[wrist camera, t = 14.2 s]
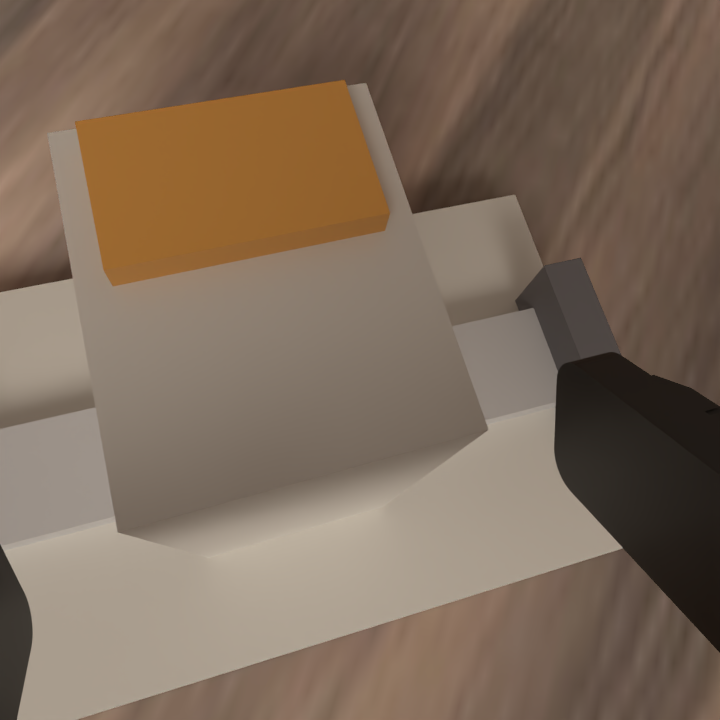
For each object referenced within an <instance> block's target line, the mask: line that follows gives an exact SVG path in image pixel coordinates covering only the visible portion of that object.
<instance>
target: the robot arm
mask: <svg viewBox="0 0 720 720" xmlns="http://www.w3.org/2000/svg"><path fill="white" fill-rule="evenodd" d="M554 454H555V460H556V464H557V468H558V471H559V473H560V475H561V478H562V480H563V481H564V483H565V485H566V486H567V488H568V489H569V490H570V491H571V492H572V493H573V495H574V496H575V497H576V498H577V499H578V500H579V501H580V502H581V503H582V504H583V505H584V506H585V508H586V509H587V510H588V511H589V512H590V513H591V514H592V515H593V516H594V517H595V518H596V519H597V520H598V522H599V523H600V524H601V525H602V526H603V527H604V528H605V529H606V530H607V531H608V532H609V533H610V535H611V536H612V537H613V538H614V539H615V540H616V541H617V542H618V543H619V544H620V545H621V546H622V547H623V549H624V550H625V551H626V552H627V553H628V554H629V555H630V556H631V557H632V558H633V559H634V560H635V561H636V563H637V564H638V565H639V566H640V567H641V568H642V569H643V570H644V571H645V572H646V573H647V574H648V576H649V577H650V578H651V579H652V580H653V581H654V582H655V583H656V584H657V585H658V586H659V587H660V588H661V590H662V591H663V592H664V593H665V594H666V595H667V596H668V597H669V598H670V599H671V600H672V601H673V603H674V604H675V605H676V606H677V607H678V608H679V609H680V610H681V611H682V612H683V613H684V614H685V615H686V617H687V618H688V619H689V620H690V621H691V622H692V623H693V624H694V625H695V626H696V627H697V628H698V630H699V631H700V632H701V633H702V634H703V635H704V636H705V637H706V638H707V639H708V640H709V641H710V642H711V644H712V645H713V646H714V647H715V648H716V649H717V650H718V651H719V652H720V406H718V405H716V404H715V403H713V402H712V401H710V400H709V399H707V398H706V397H704V396H702V395H701V394H699V393H698V392H696V391H695V390H693V389H692V388H689V387H687V386H684V385H681V384H678V383H675V382H672V381H669V380H667V379H664V378H661V377H658V376H655V375H652V376H651V375H650V374H648V373H647V372H645V371H644V370H642V369H641V368H639V367H638V366H636V365H635V364H633V363H632V362H630V361H629V360H627V359H626V358H624V357H623V356H621V355H620V354H618V353H615V352H607V353H603V354H599V355H595V356H591V357H587V358H583V359H579V360H575V361H571V362H567V363H564V364H563V365H562V366H561V367H560V369H559V371H558V374H557V384H556V411H555V437H554ZM32 638H33V628H32V617H31V612H30V607H29V603H28V600H27V598H26V595H25V593H24V591H23V589H22V587H21V585H20V583H19V581H18V579H17V577H16V575H15V573H14V571H13V569H12V567H11V565H10V563H9V561H8V559H7V557H6V555H5V553H4V551H3V549H2V547H1V545H0V720H17V716H18V711H19V706H20V701H21V697H22V692H23V687H24V682H25V677H26V672H27V667H28V662H29V657H30V652H31V647H32Z"/></svg>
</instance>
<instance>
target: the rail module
mask: <svg viewBox="0 0 720 720" xmlns="http://www.w3.org/2000/svg"><path fill="white" fill-rule="evenodd" d="M75 125H76V129H70V130H63V131H57V132H51V133H47V135H48V140H49V146H50V152H51V157H52V163H53V169H54V174H55V180H56V186H57V191H58V197H59V203H60V208H61V214H62V220H63V225H64V231H65V237H66V242H67V248H68V254H69V259H70V265H71V271H72V277H73V282H74V288H75V294H76V299H77V305H78V311H79V316H80V322H81V328H82V333H83V339H84V345H85V350H86V356H87V362H88V367H89V373H90V379H91V384H92V390H93V396H94V401H95V407H96V413H97V418H98V424H99V430H100V435H101V441H102V447H103V452H104V458H105V464H106V469H107V475H108V481H109V486H110V492H111V498H112V503H113V509H114V515H115V520H116V526H117V532H118V533H122V534H126V535H129V536H133V537H136V538H140V539H143V540H147V541H150V542H154V543H157V544H161V545H164V546H168V547H171V548H175V549H178V550H182V551H185V552H189V553H192V554H196V555H199V556H203V557H206V558H210V557H213V556H217V555H220V554H224V553H227V552H231V551H234V550H237V549H241V548H244V547H248V546H251V545H255V544H258V543H262V542H265V541H268V540H272V539H275V538H279V537H282V536H286V535H289V534H292V533H296V532H299V531H303V530H306V529H310V528H313V527H316V526H320V525H323V524H327V523H330V522H334V521H337V520H340V519H344V518H347V517H351V516H354V515H358V514H361V513H365V512H368V511H371V510H375V509H378V508H382V507H383V506H385V505H386V504H388V503H389V502H390V501H392V500H393V499H394V498H396V497H397V496H399V495H400V494H401V493H403V492H404V491H405V490H407V489H408V488H409V487H411V486H412V485H414V484H415V483H416V482H418V481H419V480H420V479H422V478H423V477H425V476H426V475H427V474H429V473H430V472H431V471H433V470H434V469H436V468H437V467H438V466H440V465H441V464H442V463H444V462H445V461H447V460H448V459H449V458H451V457H452V456H453V455H455V454H456V453H457V452H459V451H460V450H462V449H463V448H464V447H466V446H467V445H468V444H470V443H471V442H473V441H474V440H475V439H477V438H478V437H479V436H481V435H482V434H484V433H485V432H486V431H488V430H489V429H488V427H487V424H486V421H485V418H484V415H483V412H482V410H481V407H480V404H479V401H478V398H477V395H476V393H475V390H474V387H473V384H472V381H471V378H470V376H469V373H468V370H467V367H466V364H465V361H464V359H463V356H462V353H461V350H460V347H459V345H458V342H457V339H456V336H455V333H454V330H453V328H452V325H451V322H450V319H449V316H448V313H447V311H446V308H445V305H444V302H443V299H442V296H441V294H440V291H439V288H438V285H437V282H436V279H435V277H434V274H433V271H432V268H431V265H430V262H429V260H428V257H427V254H426V251H425V248H424V245H423V243H422V240H421V237H420V234H419V231H418V228H417V226H416V223H415V220H414V217H413V214H412V211H411V209H410V206H409V203H408V200H407V197H406V194H405V192H404V189H403V186H402V183H401V180H400V178H399V175H398V172H397V169H396V166H395V163H394V161H393V158H392V155H391V152H390V149H389V146H388V144H387V141H386V138H385V135H384V132H383V129H382V127H381V124H380V121H379V118H378V115H377V112H376V110H375V107H374V104H373V101H372V98H371V95H370V93H369V90H368V87H367V84H366V83H362V84H356V85H349V86H347V85H346V83H345V80H340V81H334V82H327V83H321V84H314V85H308V86H301V87H295V88H289V89H282V90H276V91H269V92H263V93H256V94H250V95H244V96H237V97H231V98H224V99H218V100H211V101H205V102H199V103H192V104H186V105H179V106H173V107H166V108H160V109H154V110H147V111H141V112H134V113H128V114H121V115H115V116H108V117H102V118H96V119H89V120H83V121H76V122H75Z"/></svg>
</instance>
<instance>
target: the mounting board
mask: <svg viewBox="0 0 720 720" xmlns="http://www.w3.org/2000/svg"><path fill="white" fill-rule="evenodd" d="M413 217H414V220H415V223H416V226H417V228H418V231H419V234H420V237H421V240H422V243H423V245H424V248H425V251H426V254H427V257H428V260H429V262H430V265H431V268H432V271H433V274H434V277H435V279H436V282H437V285H438V288H439V291H440V294H441V296H442V299H443V302H444V305H445V308H446V311H447V313H448V316H449V319H450V322H451V325H452V328H453V330H454V333H455V336H456V339H457V342H458V345H459V347H460V350H461V353H462V356H463V359H464V361H465V364H466V367H467V370H468V373H469V376H470V378H471V381H472V384H473V387H474V390H475V393H476V395H477V398H478V401H479V404H480V407H481V410H482V412H483V415H484V418H485V421H486V424H487V427H488V429H489V430H488V431H486V432H485V433H484V434H482V435H481V436H479V437H478V438H477V439H475V440H474V441H473V442H471V443H470V444H468V445H467V446H466V447H464V448H463V449H462V450H460V451H459V452H457V453H456V454H455V455H453V456H452V457H451V458H449V459H448V460H447V461H445V462H444V463H442V464H441V465H440V466H438V467H437V468H436V469H434V470H433V471H431V472H430V473H429V474H427V475H426V476H425V477H423V478H422V479H420V480H419V481H418V482H416V483H415V484H414V485H412V486H411V487H409V488H408V489H407V490H405V491H404V492H403V493H401V494H400V495H399V496H397V497H396V498H394V499H393V500H392V501H390V502H389V503H388V504H386V505H385V506H383V507H382V508H378V509H375V510H371V511H368V512H365V513H361V514H358V515H354V516H351V517H347V518H344V519H340V520H337V521H334V522H330V523H327V524H323V525H320V526H316V527H313V528H310V529H306V530H303V531H299V532H296V533H292V534H289V535H286V536H282V537H279V538H275V539H272V540H268V541H265V542H262V543H258V544H255V545H251V546H248V547H244V548H241V549H237V550H234V551H231V552H227V553H224V554H220V555H217V556H213V557H210V558H206V557H203V556H199V555H196V554H192V553H189V552H185V551H182V550H178V549H175V548H171V547H168V546H164V545H161V544H157V543H154V542H150V541H147V540H143V539H140V538H136V537H133V536H129V535H126V534H122V533H118V532H117V526H116V520H115V515H114V509H113V503H112V498H111V492H110V486H109V481H108V475H107V469H106V464H105V458H104V452H103V447H102V441H101V435H100V430H99V424H98V418H97V413H96V407H95V401H94V396H93V390H92V384H91V379H90V373H89V367H88V362H87V356H86V350H85V345H84V339H83V333H82V328H81V322H80V316H79V311H78V305H77V299H76V294H75V288H74V282H73V279H68V280H62V281H57V282H52V283H46V284H41V285H36V286H31V287H25V288H20V289H15V290H10V291H4V292H0V545H1V547H2V549H3V551H4V553H5V555H6V557H7V559H8V561H9V563H10V565H11V567H12V569H13V571H14V573H15V575H16V577H17V579H18V581H19V583H20V585H21V587H22V589H23V591H24V593H25V595H26V598H27V600H28V603H29V607H30V612H31V617H32V628H33V638H32V647H31V652H30V657H29V662H28V667H27V672H26V677H25V682H24V687H23V692H22V697H21V701H20V706H19V711H18V716H17V720H77V719H80V718H83V717H86V716H90V715H93V714H96V713H99V712H102V711H106V710H109V709H112V708H115V707H118V706H122V705H125V704H128V703H131V702H134V701H138V700H141V699H144V698H147V697H150V696H153V695H157V694H160V693H163V692H166V691H169V690H173V689H176V688H179V687H182V686H185V685H189V684H192V683H195V682H198V681H201V680H204V679H208V678H211V677H214V676H217V675H220V674H224V673H227V672H230V671H233V670H236V669H240V668H243V667H246V666H249V665H252V664H255V663H259V662H262V661H265V660H268V659H271V658H275V657H278V656H281V655H284V654H287V653H291V652H294V651H297V650H300V649H303V648H306V647H310V646H313V645H316V644H319V643H322V642H326V641H329V640H332V639H335V638H338V637H342V636H345V635H348V634H351V633H354V632H358V631H361V630H364V629H367V628H370V627H373V626H377V625H380V624H383V623H386V622H389V621H393V620H396V619H399V618H402V617H405V616H409V615H412V614H415V613H418V612H421V611H424V610H428V609H431V608H434V607H437V606H440V605H444V604H447V603H450V602H453V601H456V600H460V599H463V598H466V597H469V596H472V595H475V594H479V593H482V592H485V591H488V590H491V589H495V588H498V587H501V586H504V585H507V584H511V583H514V582H517V581H520V580H523V579H526V578H530V577H533V576H536V575H539V574H542V573H546V572H549V571H552V570H555V569H558V568H562V567H565V566H568V565H571V564H574V563H578V562H581V561H584V560H587V559H590V558H593V557H597V556H600V555H603V554H606V553H609V552H613V551H616V550H619V549H622V548H623V547H622V546H621V545H620V544H619V543H618V542H617V541H616V540H615V539H614V538H613V537H612V536H611V535H610V533H609V532H608V531H607V530H606V529H605V528H604V527H603V526H602V525H601V524H600V523H599V522H598V520H597V519H596V518H595V517H594V516H593V515H592V514H591V513H590V512H589V511H588V510H587V509H586V508H585V506H584V505H583V504H582V503H581V502H580V501H579V500H578V499H577V498H576V497H575V496H574V495H573V493H572V492H571V491H570V490H569V489H568V488H567V486H566V485H565V483H564V481H563V480H562V478H561V475H560V473H559V471H558V468H557V464H556V460H555V454H554V437H555V411H556V384H557V374H558V371H559V369H560V367H561V366H562V365H563V364H564V363H567V362H571V361H575V360H579V359H583V358H587V357H591V356H595V355H599V354H603V353H607V352H615V353H618V354H620V355H621V353H620V351H619V348H618V346H617V344H616V341H615V339H614V336H613V334H612V332H611V329H610V327H609V324H608V322H607V319H606V317H605V315H604V312H603V310H602V307H601V305H600V303H599V300H598V298H597V295H596V293H595V291H594V288H593V286H592V283H591V281H590V279H589V276H588V274H587V271H586V269H585V267H584V264H583V262H582V259H581V258H578V259H573V260H568V261H564V262H559V263H554V264H550V265H545V266H543V264H542V261H541V259H540V256H539V254H538V251H537V249H536V246H535V244H534V241H533V239H532V236H531V234H530V231H529V229H528V226H527V223H526V221H525V218H524V216H523V213H522V211H521V208H520V206H519V203H518V201H517V198H516V196H515V195H510V196H505V197H500V198H495V199H489V200H484V201H479V202H473V203H468V204H463V205H458V206H452V207H447V208H442V209H437V210H431V211H426V212H421V213H415V214H413Z"/></svg>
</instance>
